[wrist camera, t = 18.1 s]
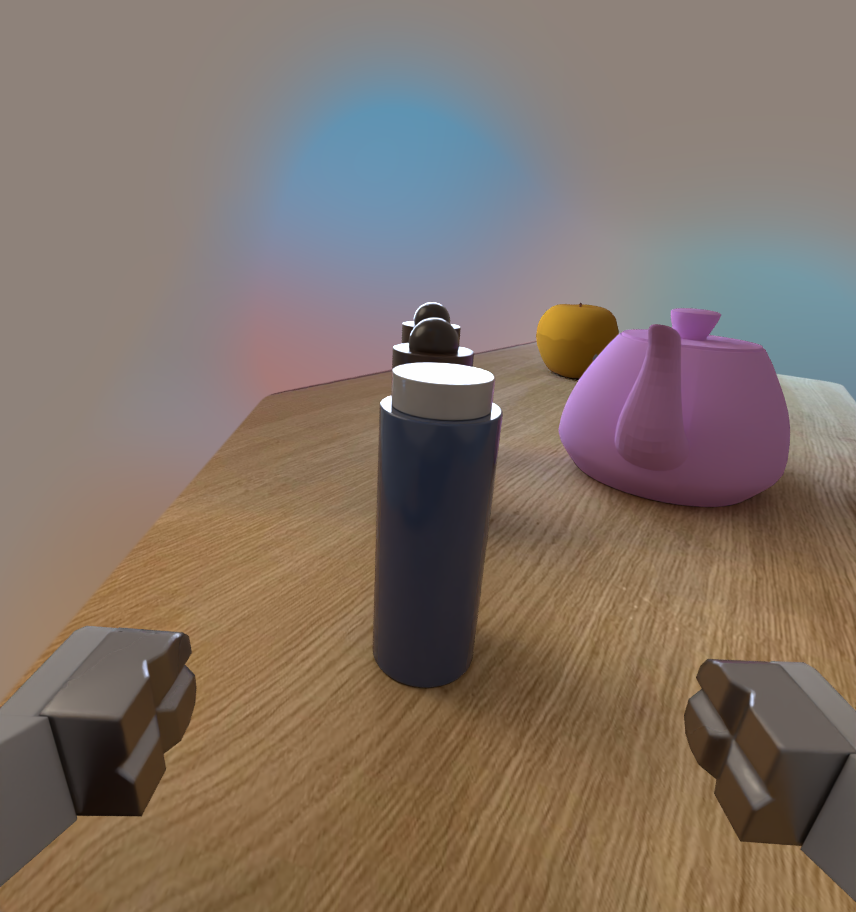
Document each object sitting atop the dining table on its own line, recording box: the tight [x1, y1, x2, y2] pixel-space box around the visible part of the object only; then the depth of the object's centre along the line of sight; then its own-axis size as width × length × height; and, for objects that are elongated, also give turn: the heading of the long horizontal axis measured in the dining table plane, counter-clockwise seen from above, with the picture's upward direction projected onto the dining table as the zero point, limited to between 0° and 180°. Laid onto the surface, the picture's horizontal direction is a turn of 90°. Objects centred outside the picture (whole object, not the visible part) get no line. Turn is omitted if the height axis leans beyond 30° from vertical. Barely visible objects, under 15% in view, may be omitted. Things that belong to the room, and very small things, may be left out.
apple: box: [536, 303, 619, 378], centre depth 80 cm, size 13×13×11 cm
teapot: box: [559, 308, 790, 507], centre depth 41 cm, size 25×18×14 cm
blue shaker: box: [373, 363, 503, 688], centre depth 20 cm, size 4×4×12 cm
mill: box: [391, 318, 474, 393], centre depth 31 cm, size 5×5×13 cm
